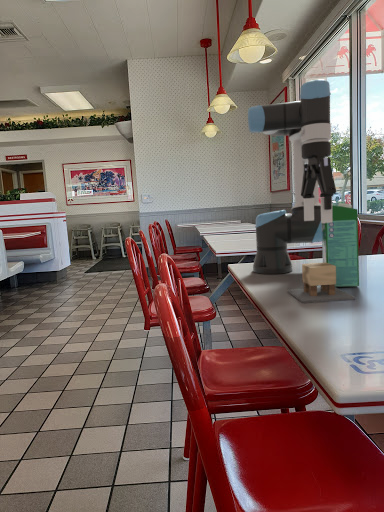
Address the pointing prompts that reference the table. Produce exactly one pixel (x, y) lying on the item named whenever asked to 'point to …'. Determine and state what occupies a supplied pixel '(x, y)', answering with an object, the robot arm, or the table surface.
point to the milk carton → (342, 244)
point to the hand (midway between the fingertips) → (317, 221)
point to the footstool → (319, 277)
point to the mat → (320, 295)
